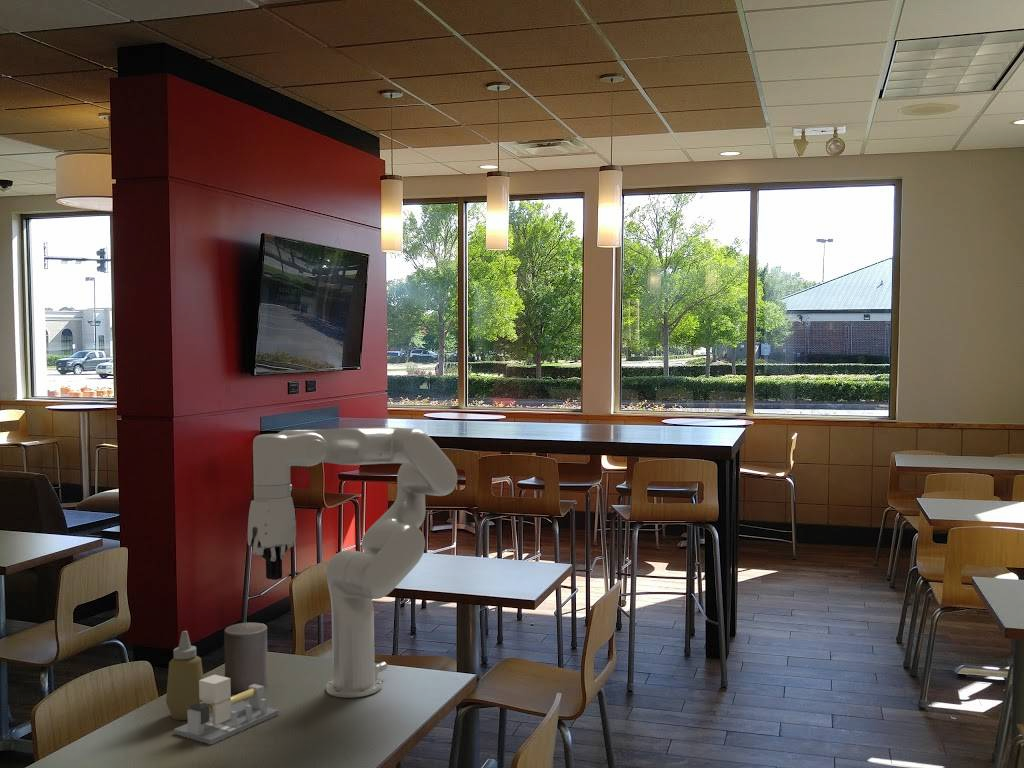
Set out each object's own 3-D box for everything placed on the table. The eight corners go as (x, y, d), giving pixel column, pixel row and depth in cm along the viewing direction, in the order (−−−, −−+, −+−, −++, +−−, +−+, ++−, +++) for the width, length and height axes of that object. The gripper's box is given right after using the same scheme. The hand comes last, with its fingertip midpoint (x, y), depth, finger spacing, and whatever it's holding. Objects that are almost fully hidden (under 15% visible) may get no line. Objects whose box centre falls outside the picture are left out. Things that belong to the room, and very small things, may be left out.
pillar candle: (215, 689, 213) (214, 624, 213) (248, 676, 222) (247, 614, 221) (245, 697, 208) (244, 631, 208) (277, 684, 217) (276, 620, 216)
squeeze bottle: (193, 724, 193) (191, 638, 192) (158, 721, 194) (156, 636, 194) (213, 709, 201) (211, 627, 200) (179, 707, 202) (177, 625, 202)
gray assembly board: (242, 705, 203) (242, 677, 203) (278, 714, 197) (278, 686, 197) (173, 733, 187) (173, 704, 187) (210, 744, 182) (210, 714, 182)
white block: (215, 714, 193) (214, 674, 192) (231, 718, 190) (230, 678, 190) (199, 720, 189) (199, 680, 189) (215, 724, 187) (214, 684, 186)
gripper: (285, 487, 205) (287, 569, 205) (232, 495, 192) (234, 584, 192) (310, 489, 201) (312, 573, 201) (258, 498, 188) (260, 588, 188)
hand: (274, 578), depth 197 cm, fingers closed
